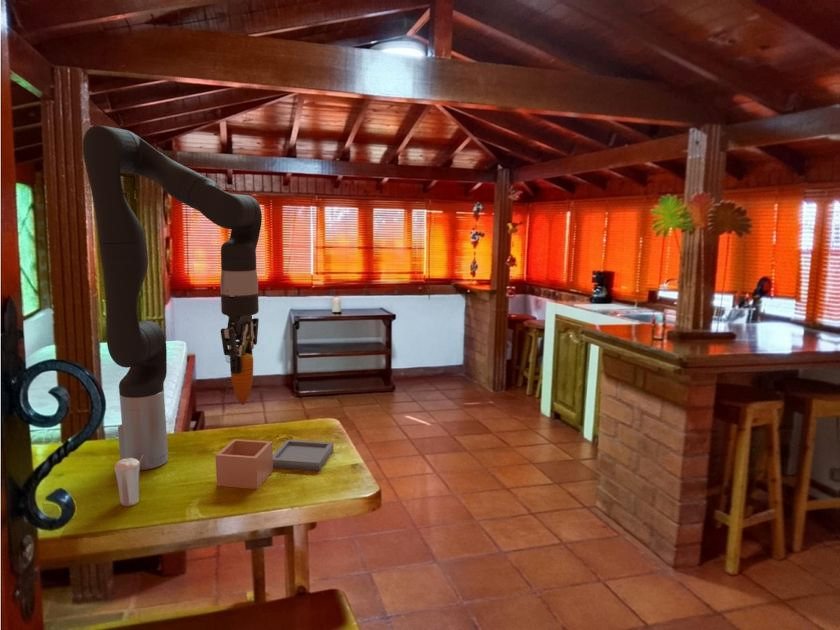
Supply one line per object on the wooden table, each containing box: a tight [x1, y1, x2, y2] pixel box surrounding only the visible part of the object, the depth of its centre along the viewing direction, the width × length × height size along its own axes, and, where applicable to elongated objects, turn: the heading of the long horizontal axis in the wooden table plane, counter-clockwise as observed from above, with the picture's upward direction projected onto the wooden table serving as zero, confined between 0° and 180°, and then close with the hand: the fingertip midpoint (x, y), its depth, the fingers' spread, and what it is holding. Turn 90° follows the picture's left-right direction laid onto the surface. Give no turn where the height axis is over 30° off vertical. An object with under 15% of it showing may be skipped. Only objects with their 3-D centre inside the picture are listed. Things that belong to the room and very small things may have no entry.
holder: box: [215, 438, 274, 490], centre depth 129 cm, size 9×9×7 cm
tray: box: [273, 439, 334, 472], centre depth 140 cm, size 12×12×2 cm
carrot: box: [230, 340, 254, 406], centre depth 126 cm, size 5×5×15 cm
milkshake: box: [114, 455, 143, 507], centre depth 118 cm, size 4×5×10 cm
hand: (241, 369), depth 126 cm, fingers closed on carrot, 5 cm apart
